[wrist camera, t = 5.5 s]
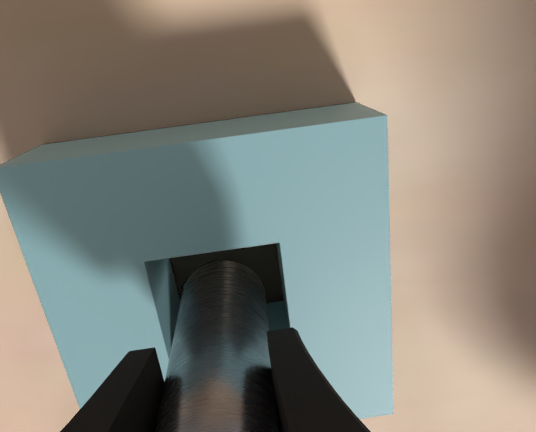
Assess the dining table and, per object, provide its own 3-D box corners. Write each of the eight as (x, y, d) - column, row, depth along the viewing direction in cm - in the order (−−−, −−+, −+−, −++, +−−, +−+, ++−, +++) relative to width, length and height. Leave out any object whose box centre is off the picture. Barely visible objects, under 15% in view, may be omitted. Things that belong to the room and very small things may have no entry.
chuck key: (255, 252, 13) (307, 759, 4) (271, 321, 14) (340, 850, 5) (172, 270, 13) (29, 813, 4) (194, 336, 14) (120, 893, 5)
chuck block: (356, 101, 14) (387, 115, 11) (368, 355, 17) (393, 414, 15) (42, 144, 13) (-9, 168, 11) (120, 391, 17) (97, 457, 14)
